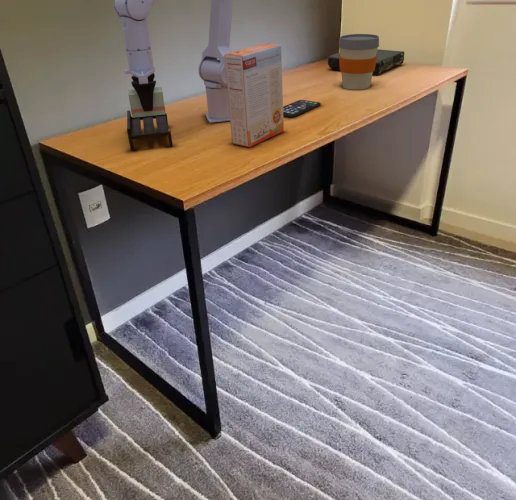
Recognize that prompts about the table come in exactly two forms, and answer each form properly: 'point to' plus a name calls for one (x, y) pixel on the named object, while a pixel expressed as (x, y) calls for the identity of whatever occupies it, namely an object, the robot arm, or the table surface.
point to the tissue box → (137, 107)
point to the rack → (147, 128)
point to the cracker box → (255, 93)
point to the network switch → (383, 60)
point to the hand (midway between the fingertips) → (147, 107)
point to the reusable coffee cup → (357, 59)
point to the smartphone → (298, 107)
